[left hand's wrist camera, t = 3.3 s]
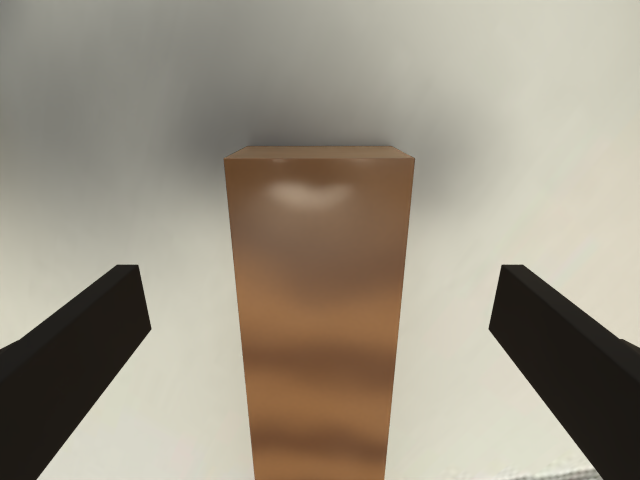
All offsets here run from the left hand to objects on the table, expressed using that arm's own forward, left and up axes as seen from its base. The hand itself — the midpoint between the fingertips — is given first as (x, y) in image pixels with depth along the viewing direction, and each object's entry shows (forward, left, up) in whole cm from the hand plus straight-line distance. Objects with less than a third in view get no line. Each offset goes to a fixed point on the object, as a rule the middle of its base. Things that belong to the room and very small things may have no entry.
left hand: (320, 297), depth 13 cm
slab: (+32, -7, -14) cm, 35 cm away
